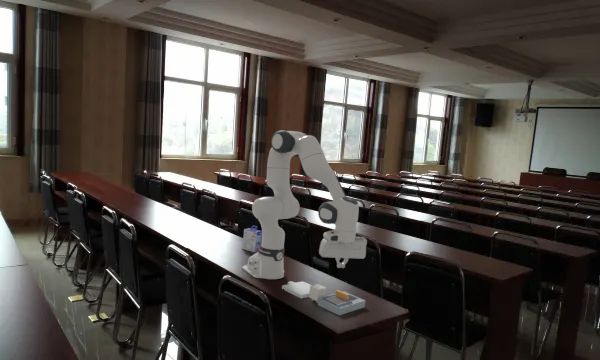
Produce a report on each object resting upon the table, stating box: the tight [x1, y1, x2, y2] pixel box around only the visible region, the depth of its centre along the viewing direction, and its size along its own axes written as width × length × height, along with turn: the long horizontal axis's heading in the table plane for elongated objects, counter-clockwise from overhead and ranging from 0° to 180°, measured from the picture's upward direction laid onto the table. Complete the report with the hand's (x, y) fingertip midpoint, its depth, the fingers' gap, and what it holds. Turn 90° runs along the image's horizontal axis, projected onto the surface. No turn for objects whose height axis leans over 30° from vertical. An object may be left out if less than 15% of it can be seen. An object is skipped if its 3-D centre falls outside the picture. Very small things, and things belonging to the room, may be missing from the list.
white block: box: [308, 283, 327, 304], centre depth 185 cm, size 5×5×6 cm
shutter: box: [324, 289, 350, 305], centre depth 180 cm, size 7×8×3 cm
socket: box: [317, 290, 366, 316], centre depth 183 cm, size 12×16×4 cm
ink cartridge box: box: [241, 225, 262, 253], centre depth 254 cm, size 10×6×14 cm, turn 58°
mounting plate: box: [281, 280, 312, 299], centre depth 196 cm, size 18×13×2 cm
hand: (340, 267), depth 184 cm, fingers closed
